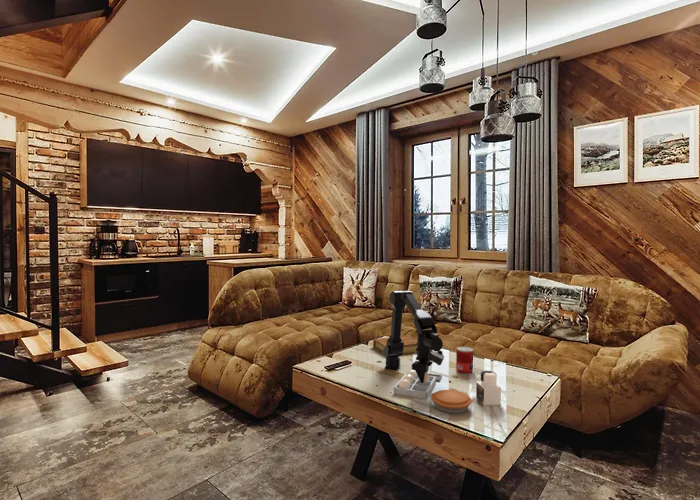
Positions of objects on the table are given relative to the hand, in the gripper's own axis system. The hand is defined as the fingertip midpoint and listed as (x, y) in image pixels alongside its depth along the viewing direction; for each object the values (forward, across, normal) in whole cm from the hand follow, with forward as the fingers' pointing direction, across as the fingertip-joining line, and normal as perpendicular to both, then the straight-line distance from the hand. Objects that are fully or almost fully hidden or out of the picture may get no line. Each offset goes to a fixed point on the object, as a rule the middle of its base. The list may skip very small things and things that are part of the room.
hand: (423, 380), depth 170 cm
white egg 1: (+1, +7, +7) cm, 9 cm away
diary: (+4, +55, +27) cm, 61 cm away
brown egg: (-2, 0, 0) cm, 2 cm away
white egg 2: (+1, 0, +7) cm, 7 cm away
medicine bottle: (+4, -3, -27) cm, 27 cm away
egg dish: (+4, +15, -2) cm, 15 cm away
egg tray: (+4, 0, +3) cm, 5 cm away
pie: (+4, -14, -14) cm, 20 cm away
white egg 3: (+1, -7, +7) cm, 9 cm away
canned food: (+4, +32, -14) cm, 35 cm away
